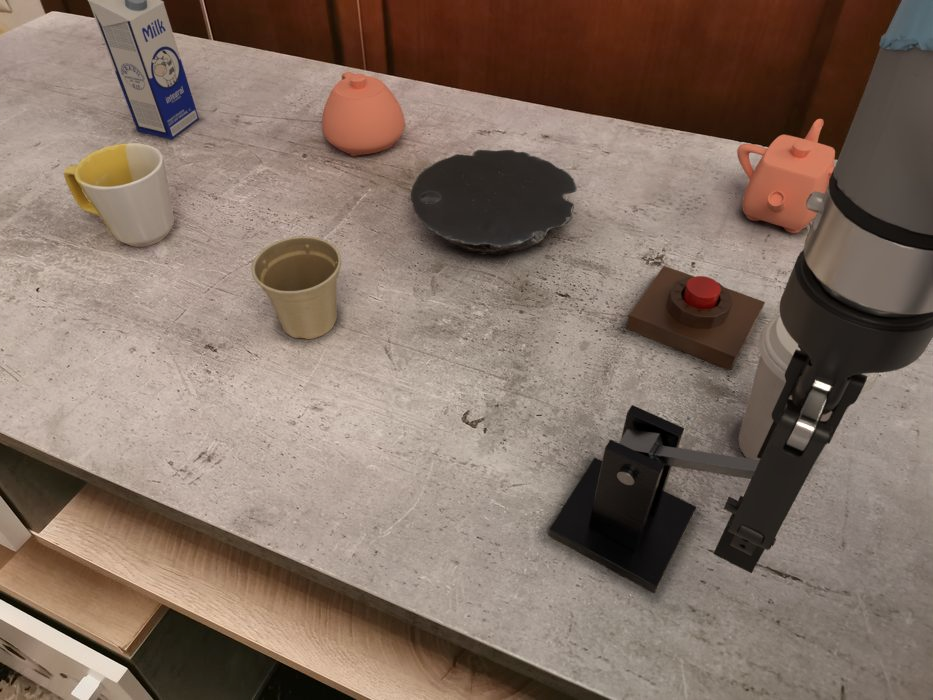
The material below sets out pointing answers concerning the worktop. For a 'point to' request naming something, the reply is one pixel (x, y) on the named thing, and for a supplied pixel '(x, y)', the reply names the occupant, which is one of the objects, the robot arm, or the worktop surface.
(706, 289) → the button
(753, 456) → the coffee cup
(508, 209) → the board
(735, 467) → the press lever
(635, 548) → the lever bracket
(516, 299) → the worktop surface
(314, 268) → the flower pot
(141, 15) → the milk carton
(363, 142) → the sugar bowl
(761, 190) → the teapot
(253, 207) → the worktop surface
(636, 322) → the button block
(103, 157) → the mug
